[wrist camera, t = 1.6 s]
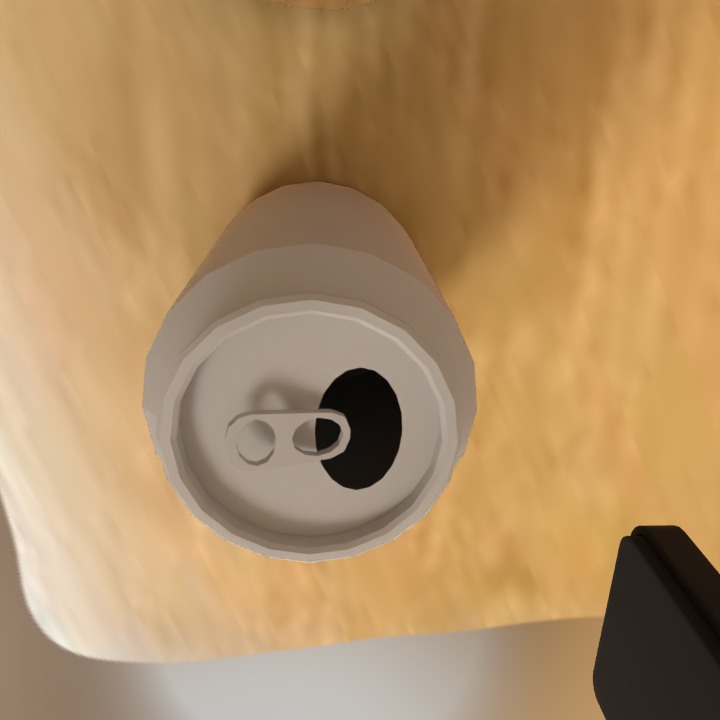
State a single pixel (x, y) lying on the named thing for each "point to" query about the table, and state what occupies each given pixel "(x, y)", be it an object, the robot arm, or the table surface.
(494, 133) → the table surface
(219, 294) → the can
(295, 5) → the bowl
